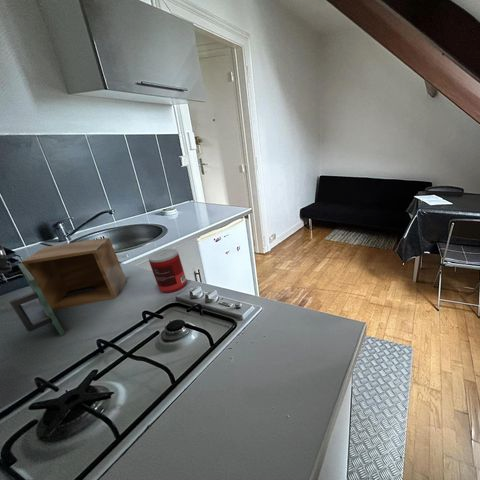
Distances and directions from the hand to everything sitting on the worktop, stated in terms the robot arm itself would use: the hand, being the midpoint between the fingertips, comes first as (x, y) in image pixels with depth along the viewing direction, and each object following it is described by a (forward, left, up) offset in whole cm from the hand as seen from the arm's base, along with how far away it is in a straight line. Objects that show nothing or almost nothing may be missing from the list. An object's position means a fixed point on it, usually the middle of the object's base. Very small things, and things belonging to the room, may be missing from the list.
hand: (6, 267), depth 55 cm
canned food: (+26, +12, -19) cm, 34 cm away
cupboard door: (-2, +4, -19) cm, 19 cm away
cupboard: (+3, +17, -19) cm, 25 cm away
